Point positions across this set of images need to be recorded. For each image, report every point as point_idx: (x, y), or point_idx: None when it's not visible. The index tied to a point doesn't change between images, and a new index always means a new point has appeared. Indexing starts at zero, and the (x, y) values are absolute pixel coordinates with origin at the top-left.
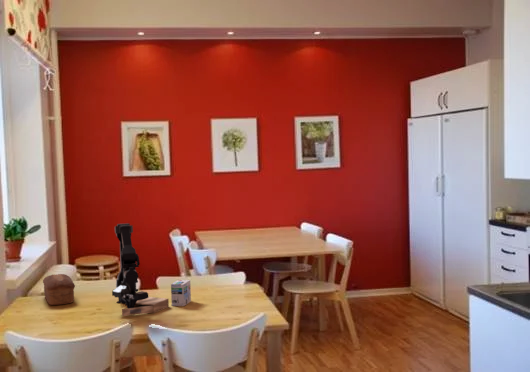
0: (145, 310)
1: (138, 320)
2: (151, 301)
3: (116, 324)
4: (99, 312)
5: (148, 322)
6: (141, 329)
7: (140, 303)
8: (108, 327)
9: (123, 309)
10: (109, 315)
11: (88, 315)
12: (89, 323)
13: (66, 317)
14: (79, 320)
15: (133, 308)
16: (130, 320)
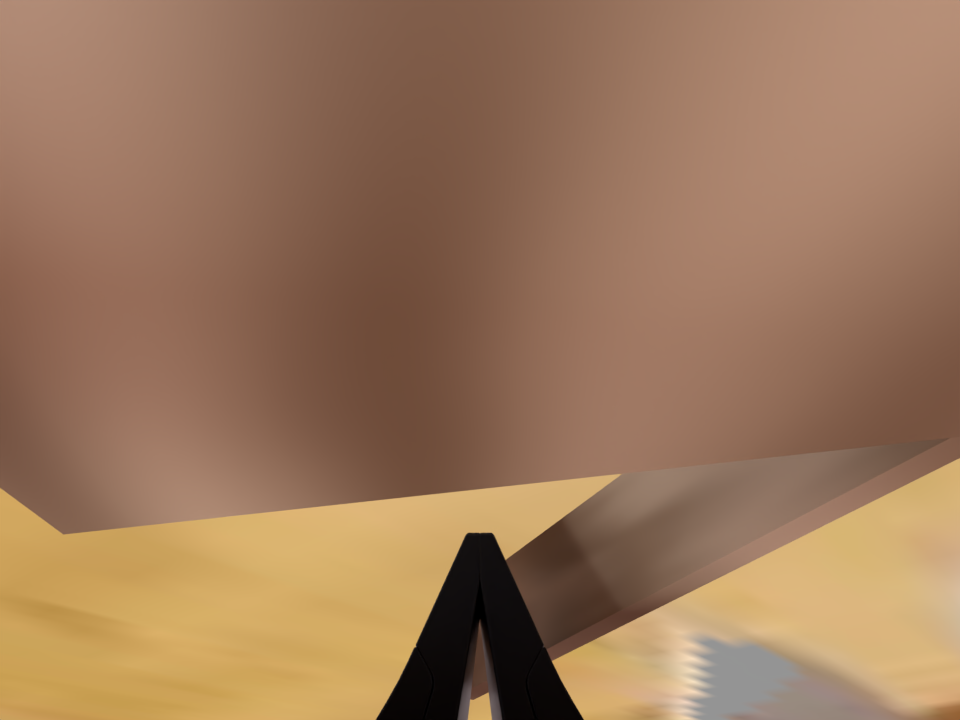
0: (744, 468)
1: (771, 582)
2: (739, 108)
3: (624, 676)
4: (46, 586)
5: (947, 581)
6: (942, 672)
7: (468, 480)
8: (619, 708)
9: (484, 688)
10: (282, 599)
11: (125, 652)
12: None
13: (83, 706)
14: (254, 706)
15: (585, 635)
16: (672, 606)
